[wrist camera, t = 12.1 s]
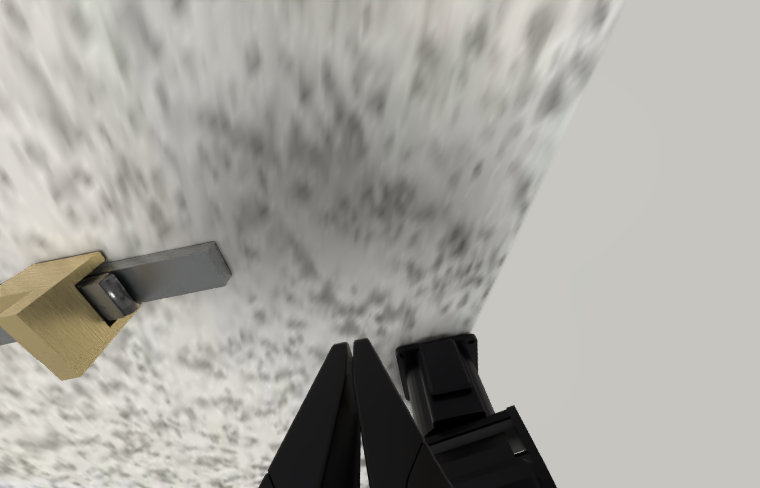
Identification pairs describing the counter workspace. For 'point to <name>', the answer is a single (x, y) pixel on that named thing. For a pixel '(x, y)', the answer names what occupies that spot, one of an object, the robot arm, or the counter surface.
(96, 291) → the upper tong arm
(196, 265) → the tong base
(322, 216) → the counter surface
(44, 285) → the collar
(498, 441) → the robot arm
